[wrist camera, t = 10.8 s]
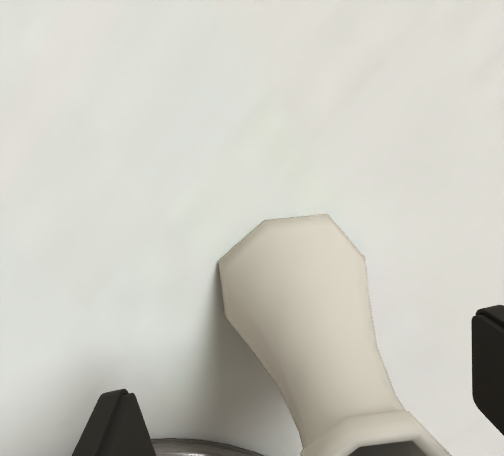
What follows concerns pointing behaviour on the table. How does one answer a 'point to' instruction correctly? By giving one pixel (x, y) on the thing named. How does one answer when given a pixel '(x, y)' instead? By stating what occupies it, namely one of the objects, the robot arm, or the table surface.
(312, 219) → the flask
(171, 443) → the base
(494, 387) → the robot arm
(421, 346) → the table surface
